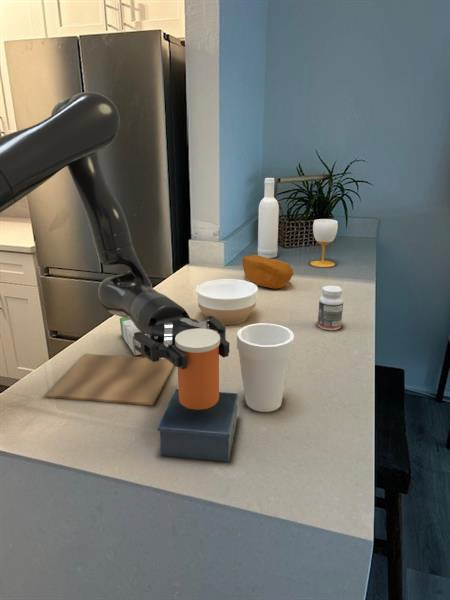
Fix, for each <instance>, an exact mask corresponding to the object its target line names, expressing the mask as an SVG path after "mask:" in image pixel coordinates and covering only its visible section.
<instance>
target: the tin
mask: <svg viewBox="0 0 450 600" xmlns="http://www.w3.org/2000/svg"><path fill="white" fill-rule="evenodd" d="M238 399H239V393H236V392H227V391H226V392H225V391H219V400H218V402H217V403H216V404H215V405H214V406H212V407H210V408H207V409H200V410H196V409H190V408H187V407H185V406H183V405H182V404H181V403H180V401H179V388H175V390H174V392H173V394H172V396H171V398H170V401H169V402H168V405H167V406H166V409H165V410H164V413H163V415H162V417H161V420H160V421H159V424H158V426H157V432H159V442H160V453H161V454H160V455H161V456H164V457H165V456H166V457H167V456H168V457H175V458H176V457H177V458H187V459H197V460H207V461H216V462H229V461H230V458H231V452H232V447H233V441H234V437H235V431H236V426H237V421H238Z"/></svg>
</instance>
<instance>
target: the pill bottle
mask: <svg viewBox="0 0 450 600" xmlns="http://www.w3.org/2000/svg"><path fill="white" fill-rule="evenodd" d="M321 294H322V295H321V296H320V297H319V301H318V313H317V326H318V327H319V328H320V329H322V330H326V331H338V330H339V329H340V328H342V324H343V323H342V320H343V311H344V298H343V297H342V294H343V288H342V287H341V286H337V285H329V284H328V285H324V286H322V289H321Z"/></svg>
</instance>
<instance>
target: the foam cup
mask: <svg viewBox="0 0 450 600" xmlns="http://www.w3.org/2000/svg"><path fill="white" fill-rule="evenodd" d="M294 339H295V333H294V332H293V331H292V330H291V329H290V328H288V327H285V326H283V325H280V324H276V323H270V322H264V323H263V322H262V323H260V322H259V323H257V322H256V323H251V324H247V325H245V326H243V327H241V328H240V329H238V331H237V333H236V349H237V350H238V357H239V364H240V372H241V379H242V387H243V394H244V399H245V403H246V405H247V407H248V408H250V409H251V410H252V411H257V412H261V413H265V412H266V413H267V412H269V413H270V412H273V411H276V410H278V409H279V408H280V407H281V406H282V402H283V397H284V392H285V386H286V382H287V377H288V373H289V371H288V370H289V367H290V361H291V357H292V355H291V354H292V353H293V352H294V351H293V350H294V342H295V341H294Z"/></svg>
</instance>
